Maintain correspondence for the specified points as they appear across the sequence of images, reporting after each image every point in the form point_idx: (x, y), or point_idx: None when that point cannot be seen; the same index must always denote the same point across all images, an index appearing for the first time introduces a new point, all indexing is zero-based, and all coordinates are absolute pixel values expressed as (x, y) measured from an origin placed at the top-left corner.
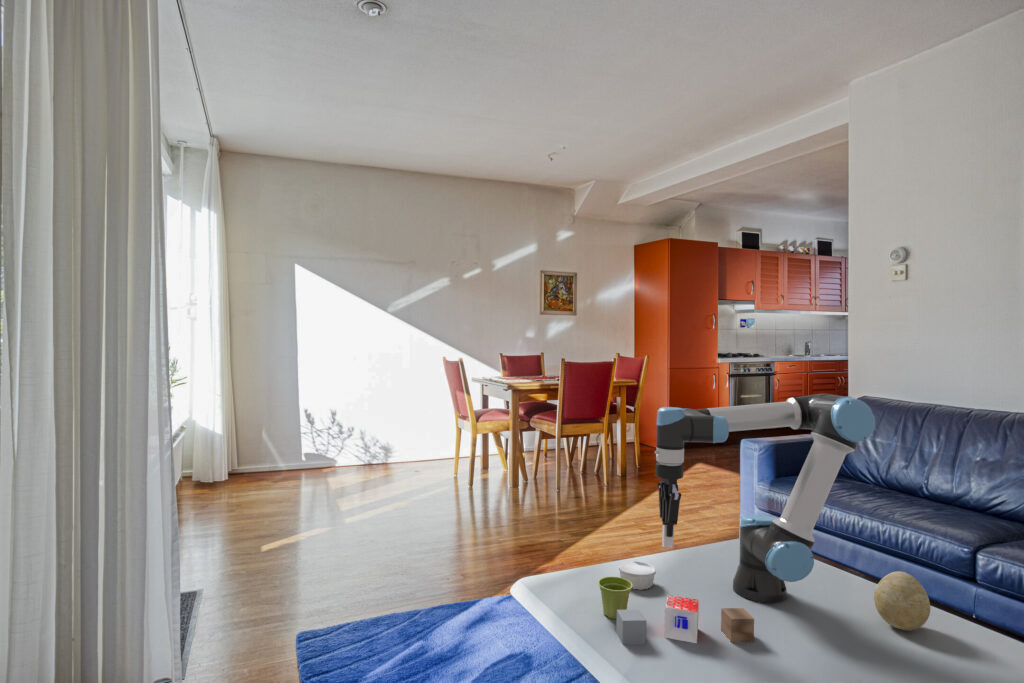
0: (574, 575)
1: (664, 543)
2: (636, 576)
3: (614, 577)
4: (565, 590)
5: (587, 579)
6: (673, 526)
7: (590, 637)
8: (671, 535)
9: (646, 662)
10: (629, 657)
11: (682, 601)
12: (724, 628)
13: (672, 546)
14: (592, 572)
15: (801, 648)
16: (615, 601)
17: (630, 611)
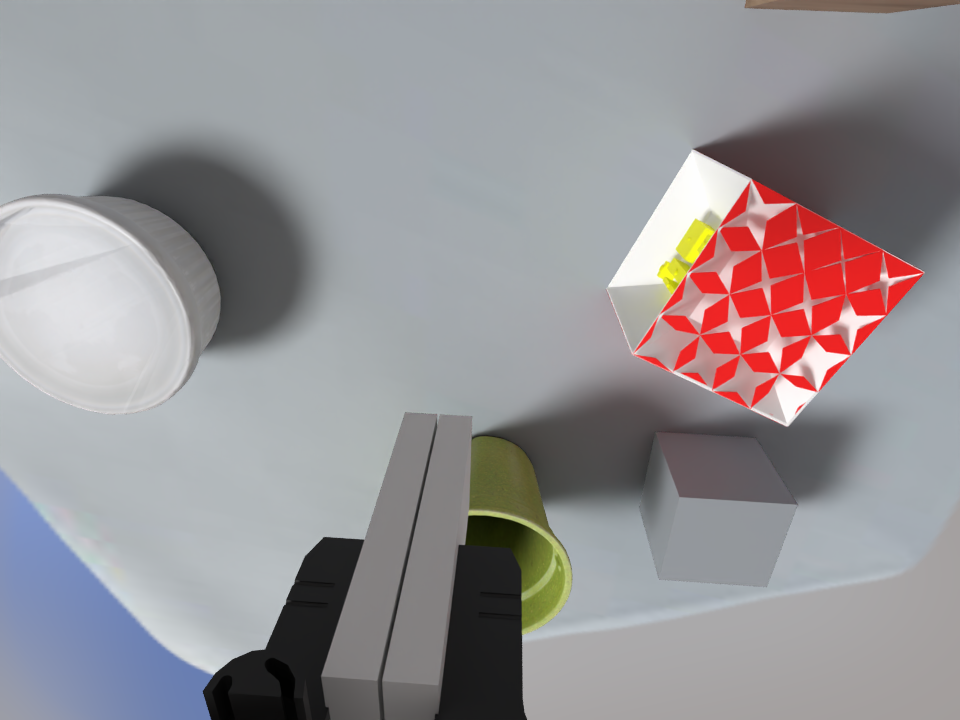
0: (104, 520)
1: (465, 536)
2: (199, 349)
3: None
4: (268, 579)
5: (136, 484)
6: (444, 654)
7: (656, 588)
8: (521, 584)
9: (885, 478)
10: (829, 518)
11: (743, 302)
12: (812, 6)
13: (469, 433)
14: (44, 445)
15: None
16: (545, 545)
17: (690, 537)
